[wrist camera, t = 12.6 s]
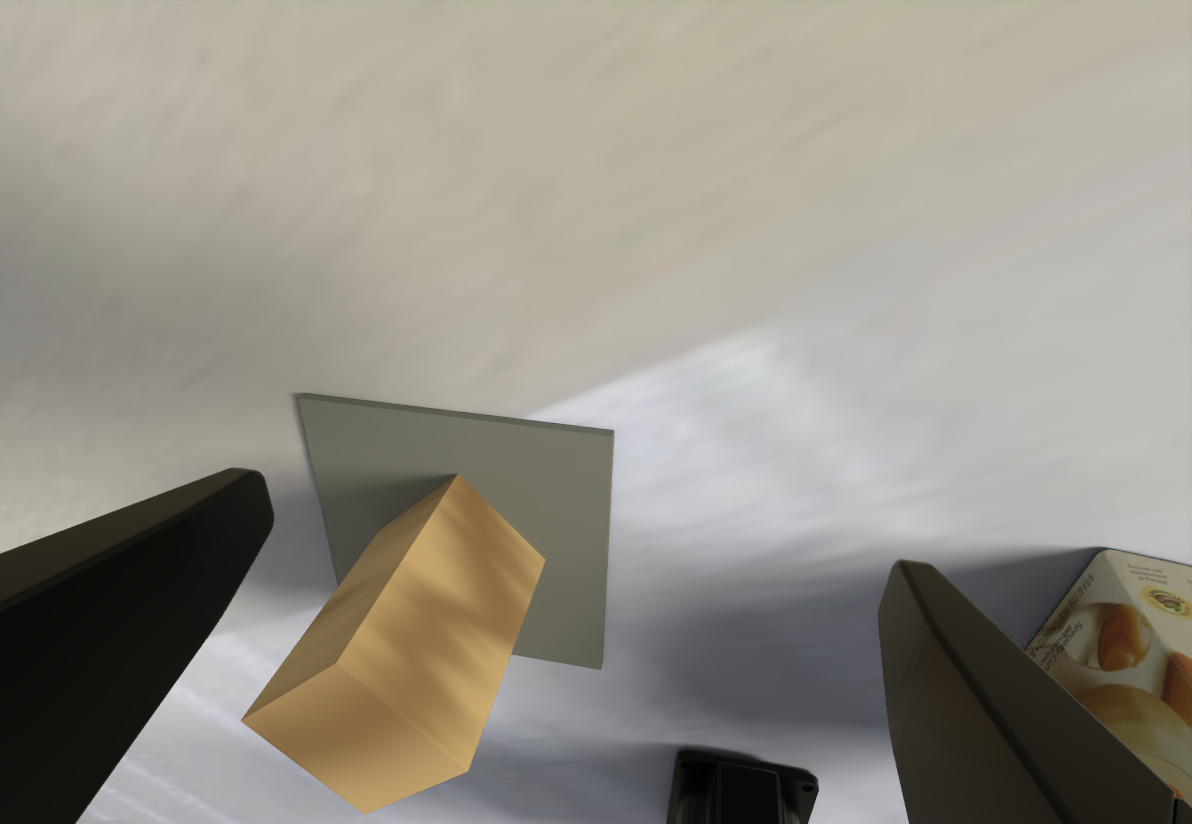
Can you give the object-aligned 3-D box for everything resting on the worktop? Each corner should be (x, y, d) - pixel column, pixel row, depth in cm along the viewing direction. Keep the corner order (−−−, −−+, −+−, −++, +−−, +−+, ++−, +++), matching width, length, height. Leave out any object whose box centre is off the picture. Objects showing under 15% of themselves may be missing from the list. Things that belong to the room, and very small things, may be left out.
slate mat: (602, 662, 29) (600, 669, 29) (351, 619, 31) (346, 625, 31) (614, 430, 24) (612, 436, 23) (303, 393, 25) (297, 398, 25)
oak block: (545, 559, 27) (467, 771, 19) (464, 607, 29) (364, 814, 21) (458, 473, 25) (335, 662, 18) (379, 530, 27) (240, 720, 20)
